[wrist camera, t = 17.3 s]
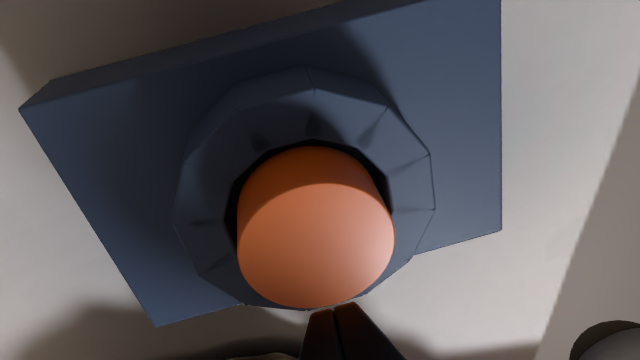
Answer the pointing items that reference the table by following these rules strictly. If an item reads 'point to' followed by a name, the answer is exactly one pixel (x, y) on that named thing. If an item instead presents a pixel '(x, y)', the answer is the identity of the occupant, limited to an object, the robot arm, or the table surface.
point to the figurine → (267, 357)
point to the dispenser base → (280, 137)
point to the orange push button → (312, 228)
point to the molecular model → (608, 342)
